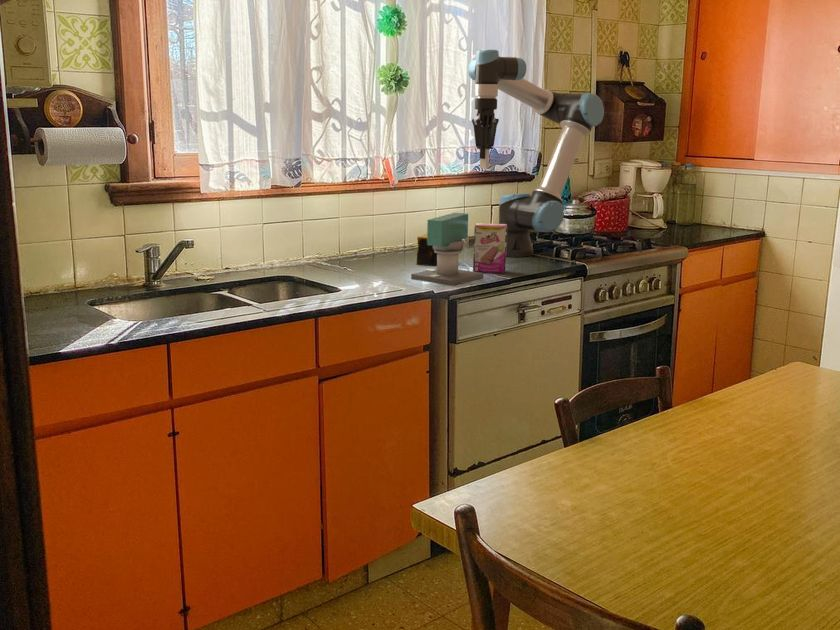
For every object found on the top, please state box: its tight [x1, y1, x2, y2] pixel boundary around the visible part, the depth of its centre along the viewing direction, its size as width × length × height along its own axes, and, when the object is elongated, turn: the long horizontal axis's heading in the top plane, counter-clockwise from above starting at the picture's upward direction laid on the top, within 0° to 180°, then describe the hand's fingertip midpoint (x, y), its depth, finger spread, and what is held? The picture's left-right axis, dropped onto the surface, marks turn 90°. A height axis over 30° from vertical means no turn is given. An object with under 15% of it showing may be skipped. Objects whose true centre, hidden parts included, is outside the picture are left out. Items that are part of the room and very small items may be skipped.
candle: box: [416, 233, 437, 267], centre depth 303 cm, size 10×10×10 cm
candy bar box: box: [472, 222, 507, 274], centre depth 287 cm, size 11×5×16 cm, turn 84°
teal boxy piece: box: [426, 212, 469, 251], centre depth 275 cm, size 10×21×10 cm, turn 154°
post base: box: [410, 250, 484, 287], centre depth 277 cm, size 17×17×10 cm
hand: (484, 168), depth 290 cm, fingers closed
